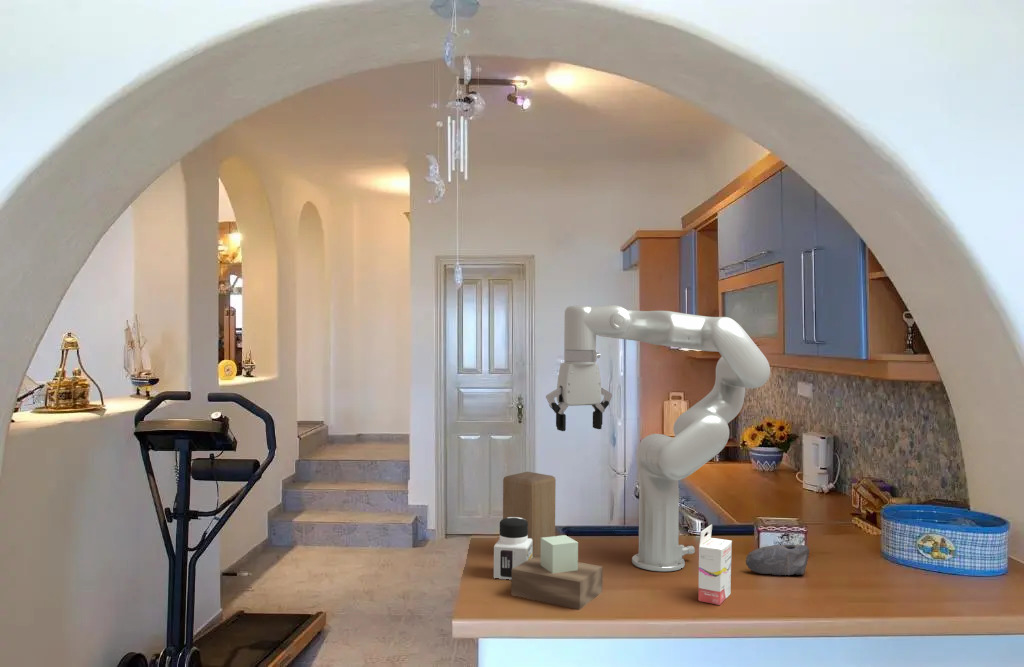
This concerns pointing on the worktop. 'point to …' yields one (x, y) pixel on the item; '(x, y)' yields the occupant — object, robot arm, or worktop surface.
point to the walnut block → (557, 583)
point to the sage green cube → (559, 554)
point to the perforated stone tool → (779, 559)
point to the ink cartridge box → (714, 568)
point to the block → (531, 504)
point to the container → (511, 547)
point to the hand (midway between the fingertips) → (579, 429)
